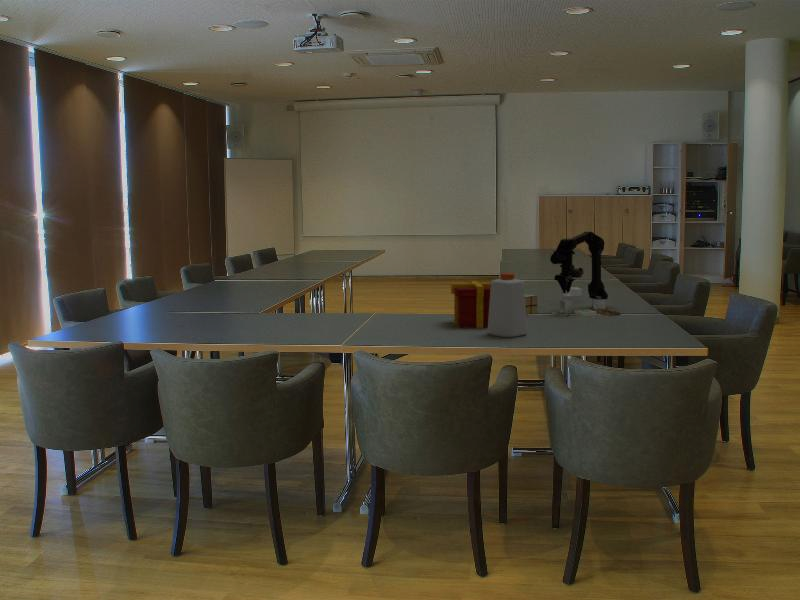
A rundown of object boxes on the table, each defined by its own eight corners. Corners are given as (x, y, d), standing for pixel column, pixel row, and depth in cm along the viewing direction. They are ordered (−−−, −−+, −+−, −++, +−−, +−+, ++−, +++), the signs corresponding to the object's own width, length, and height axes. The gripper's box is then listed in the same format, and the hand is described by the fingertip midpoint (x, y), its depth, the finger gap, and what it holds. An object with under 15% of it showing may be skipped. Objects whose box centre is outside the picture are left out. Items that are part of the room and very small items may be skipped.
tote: (551, 314, 423) (551, 312, 422) (568, 313, 427) (568, 311, 426) (562, 317, 412) (562, 315, 412) (580, 315, 417) (580, 313, 416)
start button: (580, 315, 414) (580, 309, 414) (586, 314, 416) (586, 309, 416) (584, 316, 411) (584, 310, 410) (590, 315, 412) (591, 310, 412)
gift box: (506, 328, 382) (506, 286, 379) (454, 329, 380) (454, 286, 378) (497, 320, 406) (497, 280, 404) (448, 320, 405) (448, 281, 402)
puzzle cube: (510, 313, 427) (511, 295, 426) (524, 312, 433) (524, 293, 432) (524, 315, 419) (524, 297, 418) (537, 314, 425) (537, 295, 424)
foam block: (560, 301, 480) (560, 287, 479) (577, 300, 480) (577, 287, 479) (564, 303, 470) (564, 289, 469) (581, 303, 471) (581, 289, 470)
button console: (574, 316, 416) (574, 310, 415) (587, 315, 419) (587, 309, 418) (583, 318, 408) (583, 312, 408) (596, 317, 411) (596, 311, 411)
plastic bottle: (505, 330, 374) (506, 271, 370) (530, 334, 363) (531, 273, 359) (483, 334, 364) (483, 273, 361) (508, 338, 353) (508, 276, 349)
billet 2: (592, 312, 422) (593, 298, 421) (600, 311, 424) (600, 298, 423) (598, 313, 418) (598, 299, 417) (605, 312, 419) (605, 299, 418)
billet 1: (559, 313, 421) (560, 300, 420) (567, 313, 422) (567, 300, 421) (564, 314, 417) (564, 301, 416) (571, 314, 418) (572, 301, 417)
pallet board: (586, 314, 423) (586, 309, 423) (601, 312, 427) (601, 307, 426) (606, 318, 407) (606, 313, 406) (622, 317, 410) (623, 312, 410)
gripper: (574, 265, 404) (574, 295, 406) (588, 262, 419) (587, 291, 421) (554, 264, 410) (553, 294, 412) (568, 261, 425) (567, 290, 427)
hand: (566, 292), depth 418 cm, fingers open, 5 cm apart
